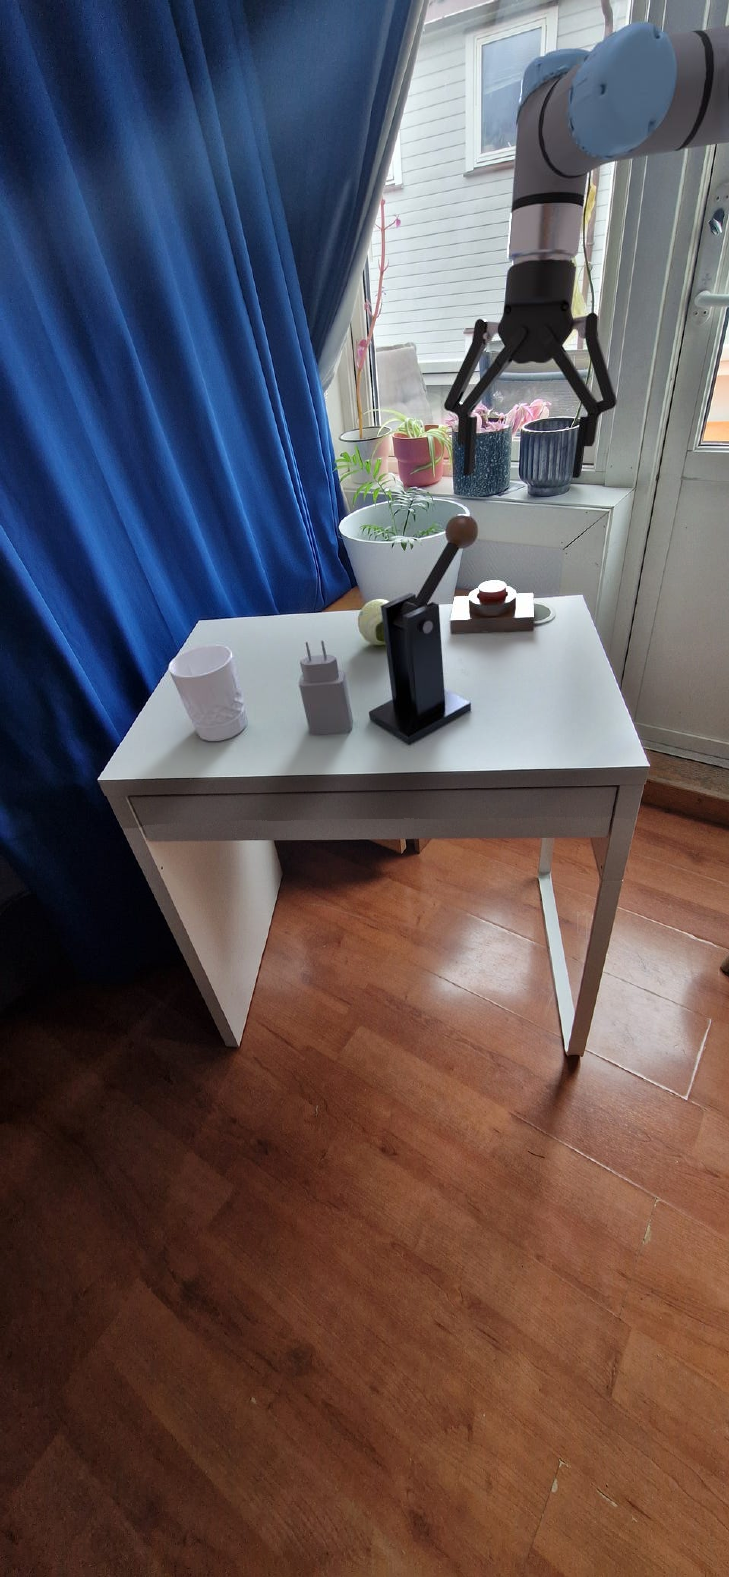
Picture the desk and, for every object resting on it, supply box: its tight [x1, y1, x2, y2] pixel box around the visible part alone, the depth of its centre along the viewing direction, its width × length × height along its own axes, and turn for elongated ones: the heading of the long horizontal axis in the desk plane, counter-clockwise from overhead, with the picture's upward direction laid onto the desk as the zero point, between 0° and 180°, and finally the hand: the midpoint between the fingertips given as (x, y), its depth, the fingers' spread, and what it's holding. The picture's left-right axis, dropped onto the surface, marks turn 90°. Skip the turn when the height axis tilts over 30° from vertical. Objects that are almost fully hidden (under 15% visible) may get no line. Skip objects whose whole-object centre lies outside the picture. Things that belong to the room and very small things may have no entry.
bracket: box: [368, 592, 472, 746], centre depth 77 cm, size 10×8×15 cm
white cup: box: [168, 644, 248, 742], centre depth 83 cm, size 8×8×10 cm
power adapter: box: [298, 640, 354, 736], centre depth 79 cm, size 3×5×12 cm, turn 86°
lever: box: [393, 513, 479, 632], centre depth 73 cm, size 14×4×4 cm
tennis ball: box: [357, 598, 390, 647], centre depth 96 cm, size 6×7×7 cm
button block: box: [449, 585, 535, 634], centre depth 98 cm, size 12×8×4 cm, turn 79°
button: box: [478, 580, 507, 602], centre depth 96 cm, size 4×4×2 cm
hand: (521, 475), depth 83 cm, fingers open, 13 cm apart
